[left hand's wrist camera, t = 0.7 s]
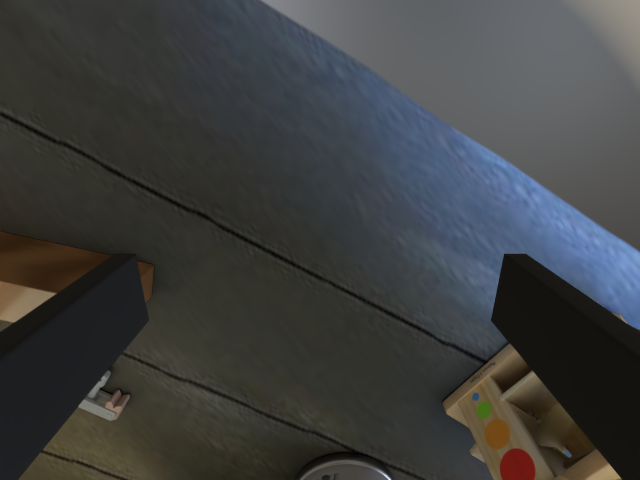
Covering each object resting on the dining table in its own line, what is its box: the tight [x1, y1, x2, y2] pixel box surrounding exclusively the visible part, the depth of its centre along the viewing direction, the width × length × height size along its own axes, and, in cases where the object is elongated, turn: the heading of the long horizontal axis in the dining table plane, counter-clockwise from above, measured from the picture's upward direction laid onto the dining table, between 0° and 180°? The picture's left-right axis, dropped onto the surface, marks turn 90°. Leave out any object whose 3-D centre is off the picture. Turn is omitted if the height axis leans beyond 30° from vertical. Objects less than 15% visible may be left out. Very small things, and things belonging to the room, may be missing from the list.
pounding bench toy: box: [443, 313, 628, 480], centre depth 36 cm, size 23×14×18 cm, turn 143°
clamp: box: [78, 370, 130, 421], centre depth 44 cm, size 15×2×10 cm
